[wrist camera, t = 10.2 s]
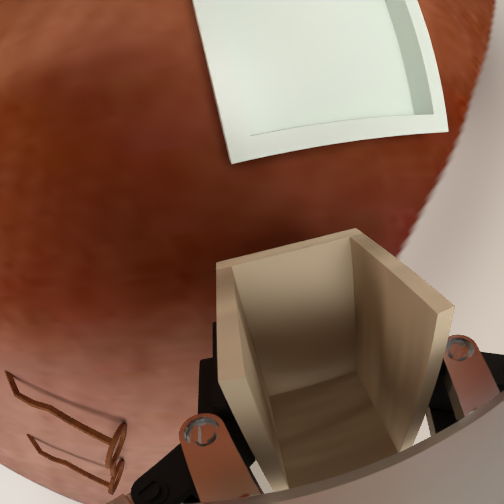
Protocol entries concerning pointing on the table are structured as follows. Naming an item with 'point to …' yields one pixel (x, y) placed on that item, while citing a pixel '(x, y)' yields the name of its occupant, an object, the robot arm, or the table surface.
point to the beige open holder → (327, 354)
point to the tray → (318, 72)
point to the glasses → (112, 442)
